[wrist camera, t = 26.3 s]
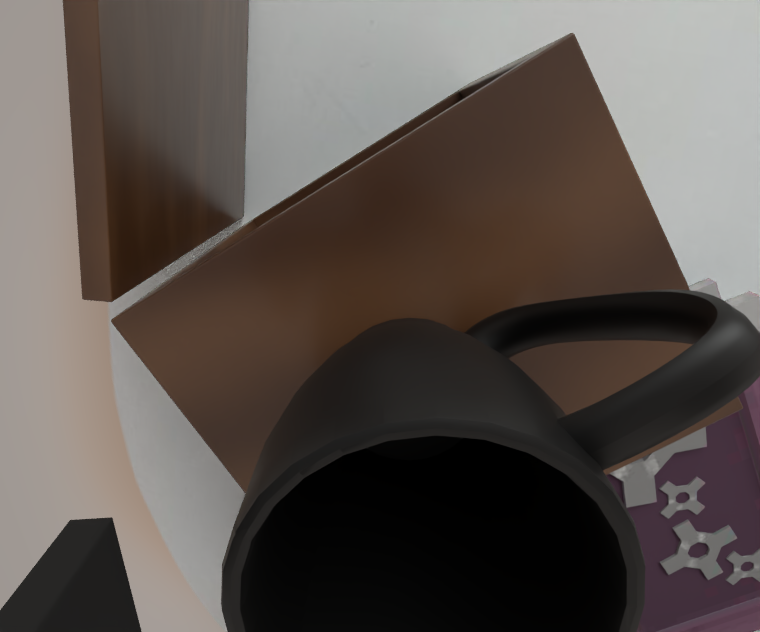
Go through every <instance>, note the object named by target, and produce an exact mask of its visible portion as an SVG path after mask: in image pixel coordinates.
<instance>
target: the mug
mask: <svg viewBox="0 0 760 632" xmlns="http://www.w3.org/2000/svg"><path fill="white" fill-rule="evenodd" d="M608 340H642V341H667V342H679V343H687V344H693V345H692V346H690V347H689V348H688V349H686V350H685V351H684V352H682V353H681V354H679V355H678V356H677V357H675V358H674V359H672V360H671V361H669V362H668V363H666V364H664V365H663V366H661V367H660V368H658V369H656V370H655V371H653V372H652V373H650V374H648V375H646V376H645V377H643V378H641V379H640V380H638V381H636V382H634V383H633V384H631V385H629V386H627V387H625V388H624V389H622V390H620V391H618V392H616V393H614V394H612V395H610V396H609V397H607V398H605V399H603V400H601V401H599V402H596V403H594V404H592V405H590V406H588V407H586V408H583V409H581V410H578V411H576V412H574V413H571V414H569V415H566V414H565V413H564V412H563V410H562V409H561V408H560V407H559V406H558V405H557V404H556V403H555V402H554V401H553V400H552V399H551V398H550V397H549V396H548V395H547V394H546V392H545V391H544V390H543V389H541V388H540V387H539V386H538V385H537V384H536V383H535V382H534V381H533V380H532V379H531V378H530V377H529V376H528V375H527V374H526V373H525V372H524V371H523V370H522V369H521V368H520V367H518V366H517V365H516V364H515V363H513V362H512V361H511V360H509V358H510V357H512V356H514V355H516V354H518V353H520V352H523V351H526V350H528V349H532V348H535V347H539V346H544V345H549V344H556V343H566V342H579V341H608ZM759 377H760V332H759V331H758V330H757V329H756V327H755V326H754V325H753V324H752V323H751V321H750V320H749V319H748V318H747V317H746V316H745V315H744V314H743V313H741V312H740V311H738V310H737V309H735V308H734V307H732V306H731V305H730V304H728V303H727V302H725V301H723V300H722V299H720V298H718V297H715V296H713V295H710V294H707V293H703V292H698V291H691V290H648V291H635V292H625V293H615V294H606V295H597V296H588V297H579V298H571V299H563V300H555V301H547V302H540V303H534V304H528V305H523V306H518V307H514V308H510V309H507V310H503V311H501V312H498V313H495V314H493V315H491V316H489V317H487V318H485V319H483V320H481V321H480V322H478V323H477V324H475V325H474V326H472V327H471V328H469V329H468V330H467V331H466V332H464V333H463V332H460V331H457V330H454V329H452V328H450V327H448V326H447V325H444V324H441V323H438V322H435V321H432V320H429V319H419V318H402V319H393V320H389V321H386V322H383V323H380V324H377V325H374V326H372V327H370V328H369V329H367V330H365V331H364V332H362V333H360V334H359V335H357V336H356V337H355V338H354V339H353V340H352V341H350V342H349V343H347V344H345V345H344V346H342V347H341V348H339V349H338V350H337V351H335V352H334V353H333V354H332V355H331V356H330V357H329V358H328V359H327V360H326V361H325V362H324V363H323V364H322V365H321V366H320V367H319V368H318V369H317V370H316V371H315V372H314V373H313V374H312V375H311V376H310V377H309V378H308V379H307V380H306V381H305V382H304V383H303V385H302V386H301V387H300V388H299V389H298V391H297V392H296V393H295V395H294V396H293V398H292V399H291V401H290V403H289V404H288V406H287V407H286V409H285V411H284V412H283V414H282V416H281V417H280V419H279V420H278V422H277V424H276V425H275V427H274V429H273V430H272V432H271V433H270V435H269V437H268V438H267V440H266V442H265V444H264V446H263V449H262V451H261V454H260V456H259V459H258V462H257V464H256V467H255V469H254V472H253V475H252V477H251V480H250V483H249V486H248V488H247V491H246V494H245V497H244V499H243V502H242V505H241V508H240V510H239V513H238V516H237V519H236V521H235V524H234V527H233V530H232V534H231V537H230V540H229V543H228V547H227V550H226V553H225V556H224V560H223V563H222V593H221V605H222V612H223V615H224V619H225V623H226V627H227V631H228V632H637V629H638V625H639V622H640V619H641V615H642V612H643V609H644V605H645V559H644V556H643V552H642V548H641V545H640V541H639V537H638V534H637V530H636V526H635V523H634V520H633V518H632V517H631V515H630V513H629V512H628V510H627V508H626V507H625V505H624V504H623V502H622V500H621V499H620V497H619V495H618V494H617V492H616V490H615V489H614V487H613V485H612V484H611V482H610V481H609V479H608V478H607V476H606V475H605V473H604V472H603V470H605V469H607V468H610V467H612V466H614V465H616V464H619V463H621V462H623V461H625V460H627V459H629V458H632V457H634V456H636V455H638V454H640V453H642V452H644V451H646V450H648V449H650V448H652V447H654V446H656V445H658V444H660V443H662V442H664V441H665V440H667V439H669V438H671V437H673V436H675V435H677V434H678V433H680V432H682V431H684V430H685V429H687V428H689V427H691V426H693V425H694V424H696V423H698V422H700V421H701V420H703V419H705V418H706V417H708V416H709V415H711V414H713V413H714V412H716V411H717V410H719V409H720V408H722V407H723V406H725V405H726V404H728V403H729V402H730V401H732V400H733V399H735V398H736V397H737V396H739V395H740V394H741V393H743V392H744V391H745V390H746V389H748V388H749V387H750V386H751V385H752V384H753V383H754V382H755V381H756V380H757V379H758V378H759Z"/></svg>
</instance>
